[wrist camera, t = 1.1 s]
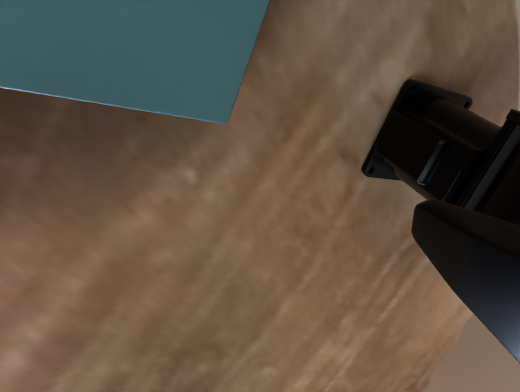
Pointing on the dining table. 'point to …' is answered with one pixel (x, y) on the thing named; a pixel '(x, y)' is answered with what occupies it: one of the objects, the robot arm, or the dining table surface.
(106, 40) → the shelf
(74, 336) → the dining table surface
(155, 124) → the dining table surface
